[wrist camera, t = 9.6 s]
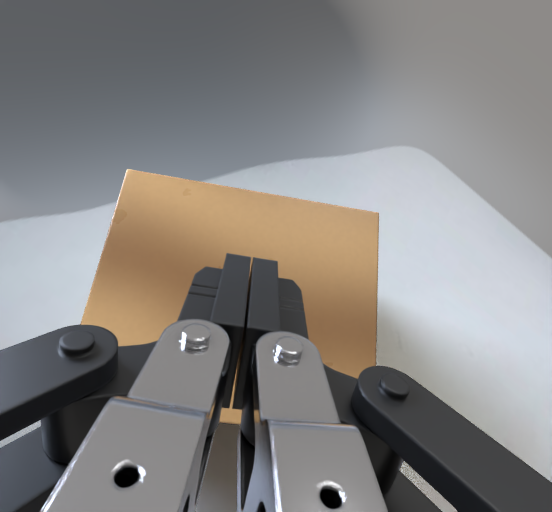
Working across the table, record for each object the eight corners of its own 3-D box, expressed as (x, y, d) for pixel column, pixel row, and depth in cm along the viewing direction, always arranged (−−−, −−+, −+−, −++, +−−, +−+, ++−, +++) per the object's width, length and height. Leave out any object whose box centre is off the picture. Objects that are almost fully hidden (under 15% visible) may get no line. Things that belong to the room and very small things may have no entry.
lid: (129, 175, 20) (126, 168, 20) (374, 217, 22) (379, 212, 21) (62, 403, 16) (55, 403, 16) (369, 439, 18) (375, 440, 17)
